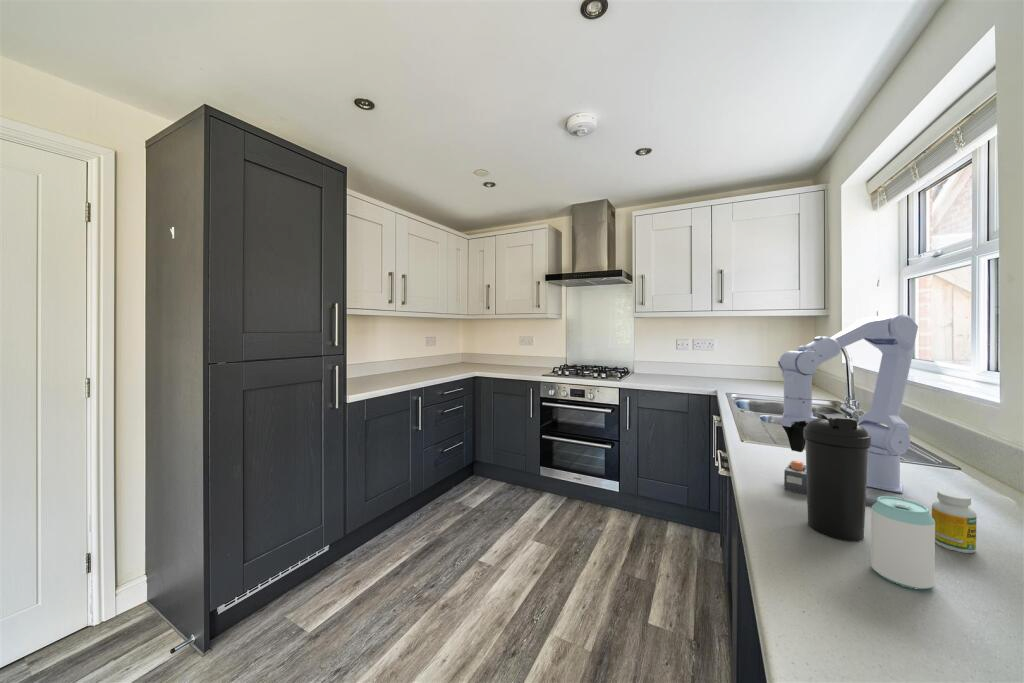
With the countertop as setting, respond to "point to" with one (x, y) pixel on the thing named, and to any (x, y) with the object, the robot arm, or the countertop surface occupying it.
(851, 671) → the countertop surface
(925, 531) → the can
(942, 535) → the supplement bottle
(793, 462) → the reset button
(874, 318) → the robot arm
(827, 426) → the water bottle
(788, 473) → the cabinet
